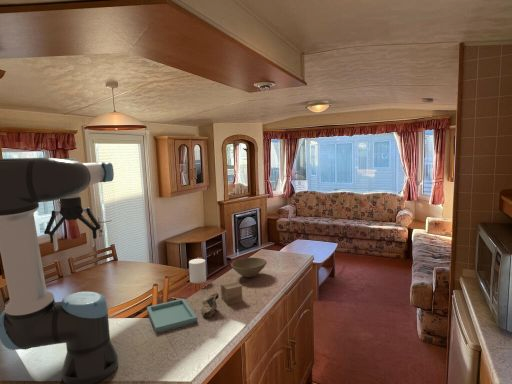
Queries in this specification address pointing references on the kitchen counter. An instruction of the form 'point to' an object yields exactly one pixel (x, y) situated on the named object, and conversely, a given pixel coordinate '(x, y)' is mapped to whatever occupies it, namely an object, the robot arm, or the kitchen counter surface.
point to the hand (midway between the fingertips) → (75, 248)
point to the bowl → (248, 266)
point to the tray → (171, 315)
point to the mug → (197, 270)
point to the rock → (209, 305)
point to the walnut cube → (231, 292)
